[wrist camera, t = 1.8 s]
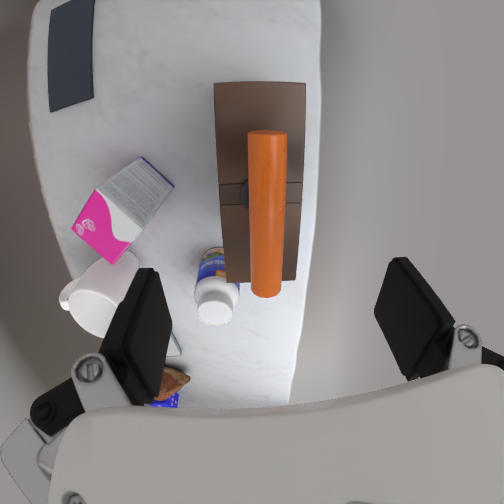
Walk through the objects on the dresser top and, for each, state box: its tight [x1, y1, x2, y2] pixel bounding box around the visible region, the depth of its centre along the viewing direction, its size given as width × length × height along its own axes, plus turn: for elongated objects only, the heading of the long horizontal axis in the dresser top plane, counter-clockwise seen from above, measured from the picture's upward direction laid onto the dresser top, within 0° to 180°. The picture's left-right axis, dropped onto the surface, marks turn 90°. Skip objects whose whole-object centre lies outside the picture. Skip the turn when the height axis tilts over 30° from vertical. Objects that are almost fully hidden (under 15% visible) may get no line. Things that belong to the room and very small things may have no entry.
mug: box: [59, 250, 139, 338], centre depth 32 cm, size 12×8×11 cm
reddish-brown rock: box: [154, 366, 190, 401], centre depth 49 cm, size 13×8×10 cm
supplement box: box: [72, 157, 174, 265], centre depth 26 cm, size 6×6×12 cm
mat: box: [48, 0, 95, 112], centre depth 19 cm, size 16×7×1 cm, turn 1°
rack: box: [214, 81, 306, 283], centre depth 24 cm, size 16×6×12 cm, turn 1°
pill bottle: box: [194, 248, 240, 325], centre depth 33 cm, size 5×5×10 cm
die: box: [149, 392, 179, 408], centre depth 55 cm, size 5×5×5 cm
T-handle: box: [240, 130, 287, 298], centre depth 21 cm, size 10×3×14 cm, turn 1°
